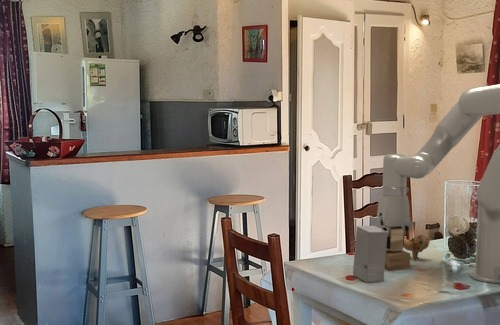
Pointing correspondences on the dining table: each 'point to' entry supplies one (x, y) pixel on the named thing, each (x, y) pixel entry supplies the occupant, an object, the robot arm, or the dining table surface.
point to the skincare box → (370, 253)
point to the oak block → (396, 239)
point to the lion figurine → (416, 245)
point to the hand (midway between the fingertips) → (393, 246)
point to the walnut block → (397, 260)
